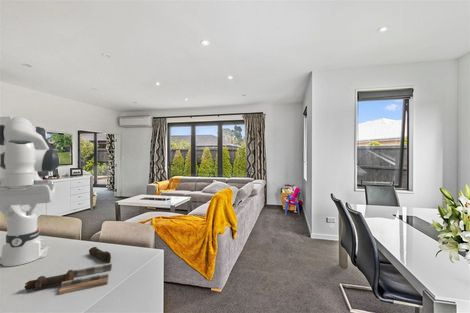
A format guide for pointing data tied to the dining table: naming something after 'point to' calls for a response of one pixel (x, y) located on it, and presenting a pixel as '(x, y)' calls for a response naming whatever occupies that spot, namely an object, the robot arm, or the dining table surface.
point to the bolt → (49, 281)
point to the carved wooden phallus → (100, 254)
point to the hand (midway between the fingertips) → (19, 216)
